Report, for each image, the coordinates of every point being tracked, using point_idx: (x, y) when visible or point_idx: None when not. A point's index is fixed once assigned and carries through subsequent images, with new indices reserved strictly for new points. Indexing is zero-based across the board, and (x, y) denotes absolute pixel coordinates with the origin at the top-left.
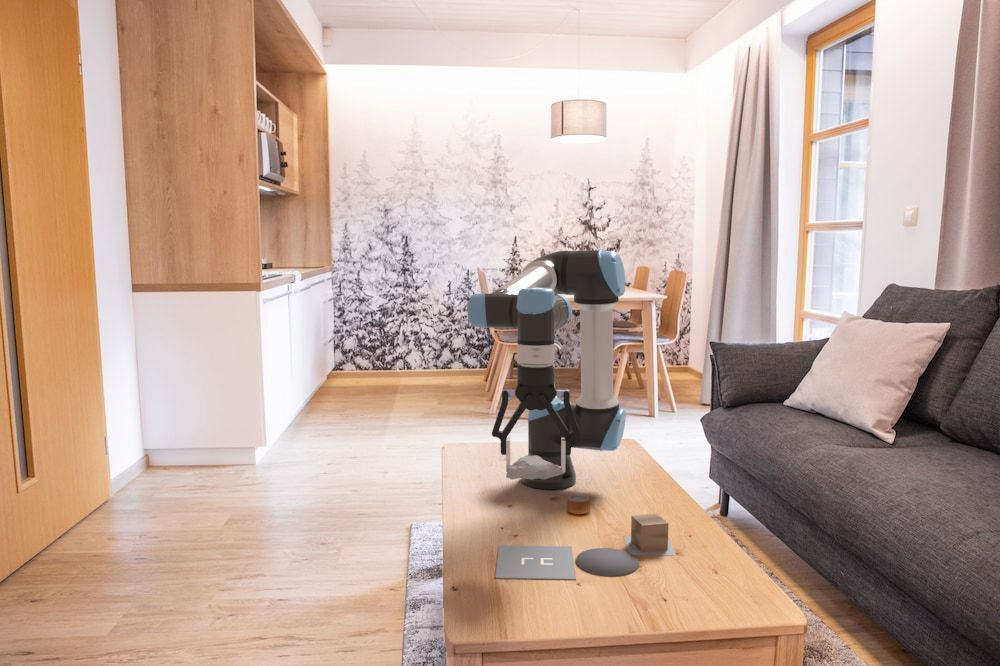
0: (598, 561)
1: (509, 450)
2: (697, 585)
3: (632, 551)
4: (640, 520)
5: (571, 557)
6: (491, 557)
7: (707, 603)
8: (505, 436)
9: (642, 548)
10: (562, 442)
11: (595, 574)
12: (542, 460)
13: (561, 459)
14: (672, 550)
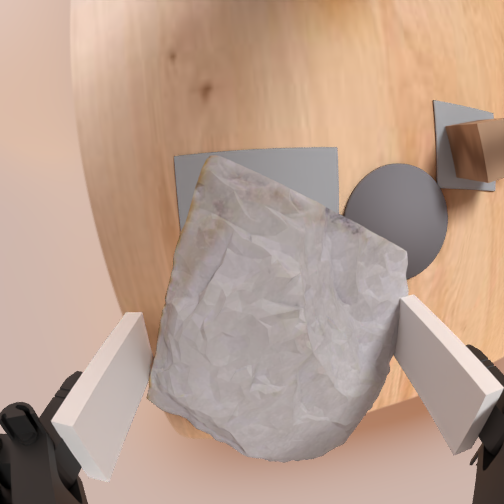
0: (385, 230)
1: (123, 437)
2: (488, 288)
3: (443, 172)
4: (488, 153)
5: (335, 205)
6: (167, 215)
7: (478, 333)
8: (75, 493)
9: (461, 177)
10: (453, 448)
11: None
12: (316, 381)
13: (416, 353)
14: None
